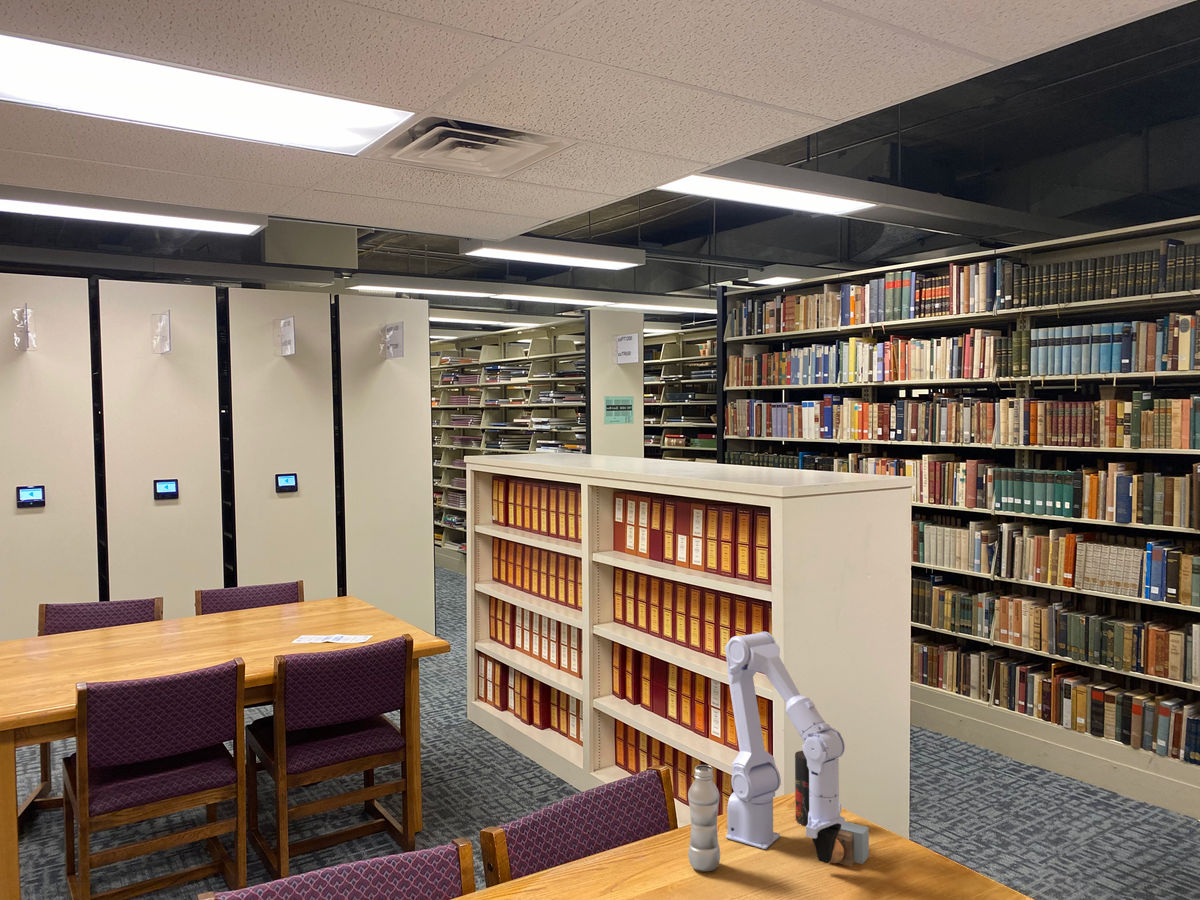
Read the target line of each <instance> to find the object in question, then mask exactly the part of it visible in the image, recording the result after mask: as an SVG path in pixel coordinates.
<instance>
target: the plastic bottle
mask: <svg viewBox="0 0 1200 900" xmlns="http://www.w3.org/2000/svg"><path fill="white" fill-rule="evenodd" d="M713 770H714V769H713V767H712V766H710V765H707V764H699V765H696V766H695V767H694V774H693V775H694V776H693V777H694V779H695V780H694V781H693V782H692V784H691V786H690V787H689V789H688V792H687V799H688V804H689V805H688V806H689V812H690V813H689V814H690V815H689V816H690V836H689V837H690V841H689V843H688V844H689V846H688V853H687V855H688V856H687V857H688V861H689V864H690V866H691V867H692V868H693V870H694V869H695V870H696V871H699V872H711V871H714V870H716V869H717V868H718V866H719V865H720V861H721V848H720V845H719V837H718V813H719V804H720V792H719V789H718V787H717V786H716V784H715V783H714V781H713V779H714V774H713V773H714V772H713Z"/></svg>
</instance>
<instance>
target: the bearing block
mask: <svg viewBox="0 0 1200 900" xmlns="http://www.w3.org/2000/svg"><path fill="white" fill-rule="evenodd" d="M840 830H844V831H847V832H851V833H854V863H857V864H860V865H863V864H865V862H866V861H867V860H868V858H869V857H870V832H869V831H870V827H869V826H865V825H861V824H856V823H853V822H850V821H849V822H848V821H846V820H845V822H844V823H843V824H841V829H840ZM815 850H816V849H814V851H815Z"/></svg>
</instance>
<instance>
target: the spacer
mask: <svg viewBox="0 0 1200 900" xmlns="http://www.w3.org/2000/svg"><path fill="white" fill-rule="evenodd" d="M837 838H839V839H842V840H845V850H846V853H845V856H844V857H843V859H842V860H841V861H840V862H838V863H837V864H839V865H840V864H841V865H844V866H848V867H852V865H854V863H855V862H854V833H851V832H847V831H844V830H840V831H839V833H838V835H837Z"/></svg>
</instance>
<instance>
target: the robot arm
mask: <svg viewBox="0 0 1200 900" xmlns="http://www.w3.org/2000/svg"><path fill="white" fill-rule="evenodd" d="M780 649H781V648H780V646H779V645H778V644H777V642H776V640H775V639H774V637H773V635H772V634H771V633H769V632H768V631H760V632H757V633H751V634H746V635H735V636H732V637H731V638H730V639H729V640H728V642H727V643H726V645H725V646H724V652H725V657H726V663H727V666H726V671H727V672H726V673H727V679H728V680H727V681H728V685H729V691H730V698H731V704H732V711H733V717H734V724H735V729H736V737H737V743H738V749H739V750H738V751H739V752H738V754H737V755H736V757H735V759H734V760H733V761H732V762H731V768H732V771H731V772H732V775H731V788H732V789H733V790H732V791H733V792H732V793H731V794H730V796H729V797H728V803H727V807H726V811H727V812H726V813H727V814H726V815H727V817H726V818H727V820H726V821H727V822H726V823H727V828H726V829H727V834H726V835H725V838H726V839H728V840H731V841H734V842H735V841H736V842H739V843H742V844H745V845H748V846H751V847H756V848H758V849H762V850H767V849H768V848H770V846H771V845H772V844H774V843H775V842H776V841H777V840H778V839H779V838H780V837H781V834H780V833H779V832H775V831H774V797H776V791H778V790H779V789H780V787H781V783H782V782H781V781H782V779H781V773H780V771H779V769H778V767H777V765H776V760H775V757H774V755H772V754H770V753H769V752H768V751H767V750H766V749H765V743H764V739H763V736H764V735H763V731H762V725H761V718H760V712H759V706H758V701H757V700H758V699H757V694H756V687H755V681H754V676H755V675H756V674H757V673H762V674H764V675H765V676H766V678H767V679H768V680H769V682H770V683H771V684H772V686H773V687H774V689H775V690H776V691H777V693H778V694H779V696H780V697H781V698H782V700H784V702H785V703H786V704H785V705H786V707H785V715H786V716H787V717H788V719H789V720H790V722H791V723H792V725H793V727H794V728H795V730H796V731H797V732H798V733H797V734H798V735H799V736H800V738H801V739H802V741H803V744H801V747H802V751H803V753H804V755H805V757H806V759H807V766H808V769H809V812H808V824H807V826H805V837H808V838H811V839H812V841H813V844H814V848H815V849H816V851H815V852H816V856H817V860H818V862H820V863H824V864H829V863H831V862H830V861H831V858H832V853H833V848H834V844H835V840H836V837H837V835H838V833H839V831H840V829H841V824H843V823H844V822H845V821H846V817H844V816H842V815H841V813H842V802H840V780H839V779H840V778H839V777H840V775H839V774H840V773H839V772H840V771H839V769H840V768H839V767H840V765H839V764H840V763H839V758H840V757H842V756H843V755H844V753H845V749H846V747H845V746H846V745H845V741H844V738H843V736H842V734H841V732H840V731H839V730H837V729H836V728H834V727H832V726H830V724H829V723H826V722H825V720H824V718H823V716H822V715H821V714H820V713H819V711H818V710H817V708H816V705H815V702H813V700H811V699H810V697H808V696H804V695H801V692H799V689H798V688H797V686H796V684H795V682H794V681H793V679H792V677H791V676H790V674H789V671H788V669H787V668H786V667H785V664H784V663H783V661H782V659H781V657H780V655H781V654H780V652H781V651H780ZM815 849H814V850H815Z"/></svg>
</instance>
